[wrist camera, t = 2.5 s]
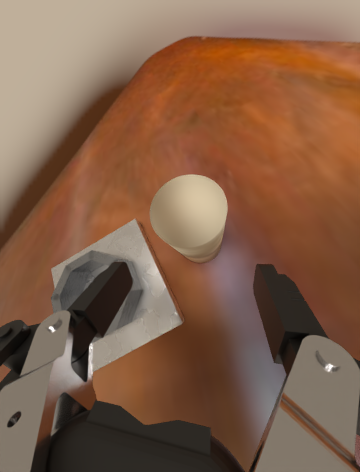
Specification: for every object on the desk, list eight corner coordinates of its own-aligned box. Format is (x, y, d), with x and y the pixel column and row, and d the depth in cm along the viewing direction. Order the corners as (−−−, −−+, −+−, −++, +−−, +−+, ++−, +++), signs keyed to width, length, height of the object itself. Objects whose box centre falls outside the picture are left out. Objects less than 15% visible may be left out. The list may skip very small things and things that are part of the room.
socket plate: (140, 222, 22) (122, 209, 18) (185, 320, 17) (175, 332, 13) (61, 269, 23) (26, 267, 19) (83, 374, 18) (44, 403, 14)
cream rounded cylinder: (207, 216, 20) (200, 161, 11) (229, 249, 19) (244, 219, 9) (173, 235, 21) (138, 198, 11) (192, 270, 19) (169, 262, 9)
